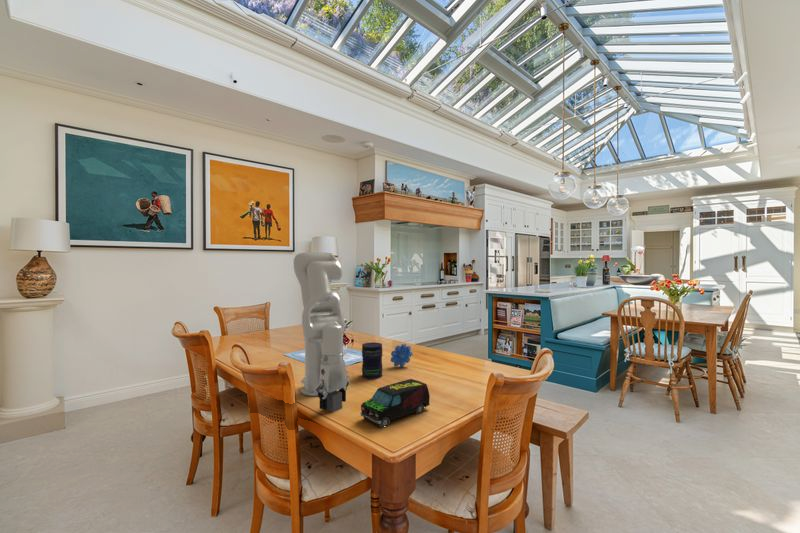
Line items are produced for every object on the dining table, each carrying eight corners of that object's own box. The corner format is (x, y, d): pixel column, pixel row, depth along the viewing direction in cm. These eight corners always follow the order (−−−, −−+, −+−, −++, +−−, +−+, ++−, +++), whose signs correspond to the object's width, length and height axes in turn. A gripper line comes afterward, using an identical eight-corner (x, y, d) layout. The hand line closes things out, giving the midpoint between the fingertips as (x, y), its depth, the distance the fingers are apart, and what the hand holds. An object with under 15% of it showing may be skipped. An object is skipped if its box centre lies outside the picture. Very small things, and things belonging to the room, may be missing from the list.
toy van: (359, 420, 122) (358, 391, 122) (411, 401, 138) (411, 375, 138) (378, 431, 114) (378, 399, 114) (431, 409, 130) (431, 382, 130)
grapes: (410, 363, 190) (410, 341, 190) (413, 367, 183) (413, 344, 183) (389, 365, 188) (389, 342, 188) (391, 368, 181) (391, 345, 181)
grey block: (323, 409, 131) (323, 392, 131) (332, 405, 135) (332, 389, 135) (333, 412, 128) (333, 395, 128) (342, 408, 132) (342, 392, 132)
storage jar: (380, 379, 164) (380, 347, 164) (359, 378, 166) (359, 346, 166) (384, 373, 174) (384, 342, 174) (364, 372, 175) (364, 342, 175)
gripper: (321, 365, 122) (322, 415, 122) (356, 354, 136) (356, 399, 136) (307, 361, 126) (307, 410, 126) (342, 352, 140) (342, 395, 140)
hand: (333, 404), depth 131 cm, fingers open, 9 cm apart
